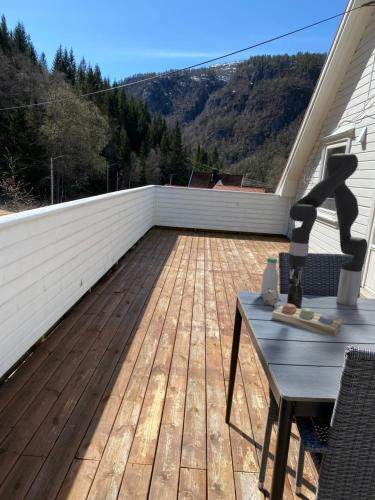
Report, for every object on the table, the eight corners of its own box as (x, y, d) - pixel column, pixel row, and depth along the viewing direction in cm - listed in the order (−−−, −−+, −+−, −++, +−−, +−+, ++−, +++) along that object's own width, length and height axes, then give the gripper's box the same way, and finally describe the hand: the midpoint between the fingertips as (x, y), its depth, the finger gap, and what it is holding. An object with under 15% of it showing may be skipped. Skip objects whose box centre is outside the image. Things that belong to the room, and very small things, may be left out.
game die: (273, 313, 160) (288, 298, 157) (265, 310, 154) (280, 295, 151) (261, 299, 166) (276, 285, 163) (253, 296, 159) (268, 281, 156)
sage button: (302, 314, 143) (303, 307, 143) (313, 317, 141) (314, 309, 140) (299, 317, 140) (300, 309, 139) (310, 320, 137) (311, 312, 137)
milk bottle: (276, 300, 168) (280, 260, 164) (260, 298, 169) (264, 259, 165) (275, 295, 175) (279, 257, 171) (260, 293, 176) (264, 256, 173)
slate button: (320, 321, 139) (321, 314, 139) (332, 324, 137) (333, 317, 136) (317, 324, 136) (318, 317, 135) (329, 328, 133) (330, 320, 132)
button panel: (282, 311, 153) (282, 304, 152) (341, 326, 138) (342, 319, 138) (271, 318, 143) (272, 311, 142) (334, 336, 129) (335, 328, 128)
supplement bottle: (303, 304, 164) (306, 280, 161) (299, 308, 158) (302, 283, 156) (288, 301, 167) (291, 277, 165) (284, 304, 161) (287, 280, 159)
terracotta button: (285, 309, 148) (286, 302, 147) (296, 312, 145) (296, 305, 144) (281, 312, 144) (282, 305, 143) (292, 315, 141) (293, 308, 141)
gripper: (294, 249, 146) (289, 288, 150) (283, 253, 136) (279, 295, 139) (312, 252, 142) (306, 292, 145) (302, 256, 131) (297, 299, 135)
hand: (293, 293), depth 142 cm, fingers closed
